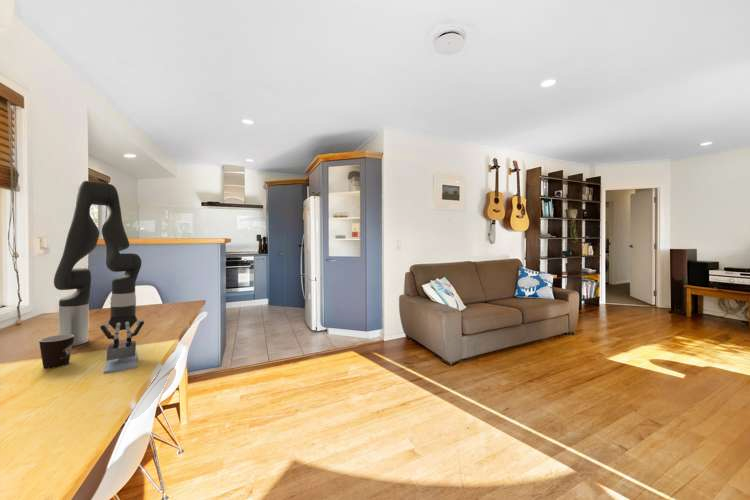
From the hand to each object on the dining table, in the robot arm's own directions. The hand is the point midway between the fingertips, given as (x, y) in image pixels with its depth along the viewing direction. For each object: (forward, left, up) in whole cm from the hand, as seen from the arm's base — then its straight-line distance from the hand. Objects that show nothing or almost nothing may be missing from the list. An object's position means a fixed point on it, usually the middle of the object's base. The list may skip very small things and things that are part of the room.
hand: (122, 347), depth 115 cm
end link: (+3, 0, -1) cm, 3 cm away
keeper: (+6, 0, -4) cm, 7 cm away
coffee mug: (-5, -17, -4) cm, 19 cm away
